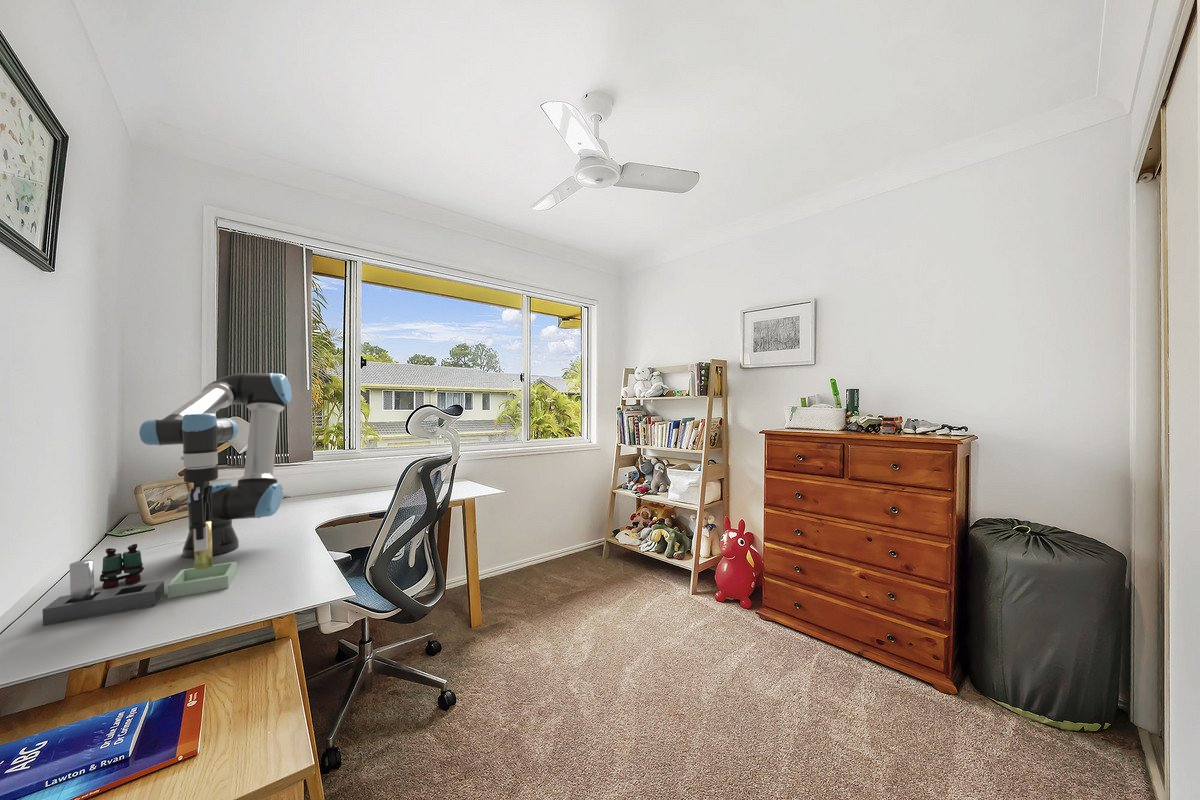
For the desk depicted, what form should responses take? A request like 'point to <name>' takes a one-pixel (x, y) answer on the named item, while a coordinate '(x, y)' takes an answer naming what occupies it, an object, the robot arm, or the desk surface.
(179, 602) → the desk surface
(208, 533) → the brass pin
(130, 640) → the desk surface
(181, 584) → the tray
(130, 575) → the binoculars
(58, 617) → the bar
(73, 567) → the pin
